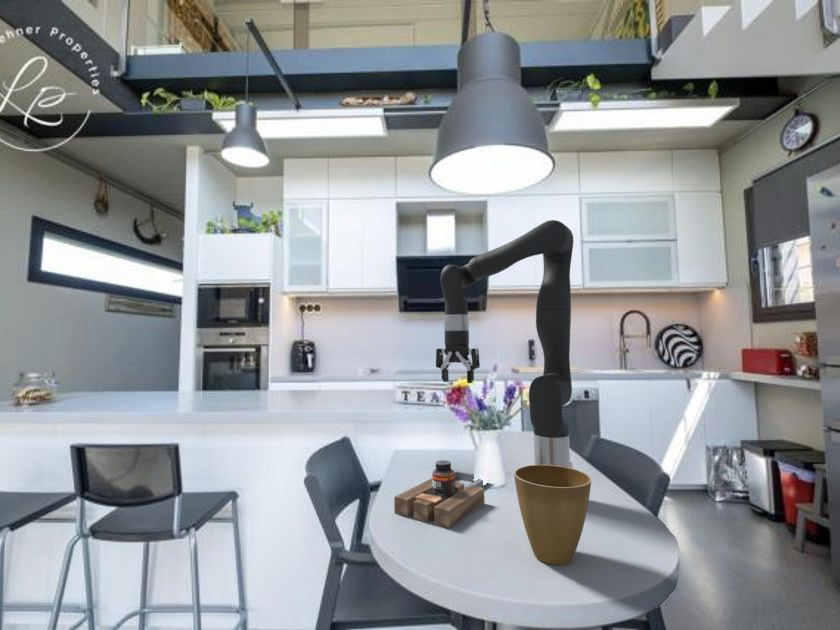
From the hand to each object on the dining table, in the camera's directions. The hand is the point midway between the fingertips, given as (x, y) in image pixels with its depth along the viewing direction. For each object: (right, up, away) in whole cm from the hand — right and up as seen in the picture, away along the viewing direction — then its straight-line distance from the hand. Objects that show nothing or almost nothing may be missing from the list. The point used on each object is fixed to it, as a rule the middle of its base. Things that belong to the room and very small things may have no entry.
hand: (457, 382), depth 132 cm
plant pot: (+15, -28, -46) cm, 56 cm away
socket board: (-6, -29, -21) cm, 37 cm away
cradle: (+1, -30, -4) cm, 30 cm away
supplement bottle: (-5, -29, -20) cm, 36 cm away
